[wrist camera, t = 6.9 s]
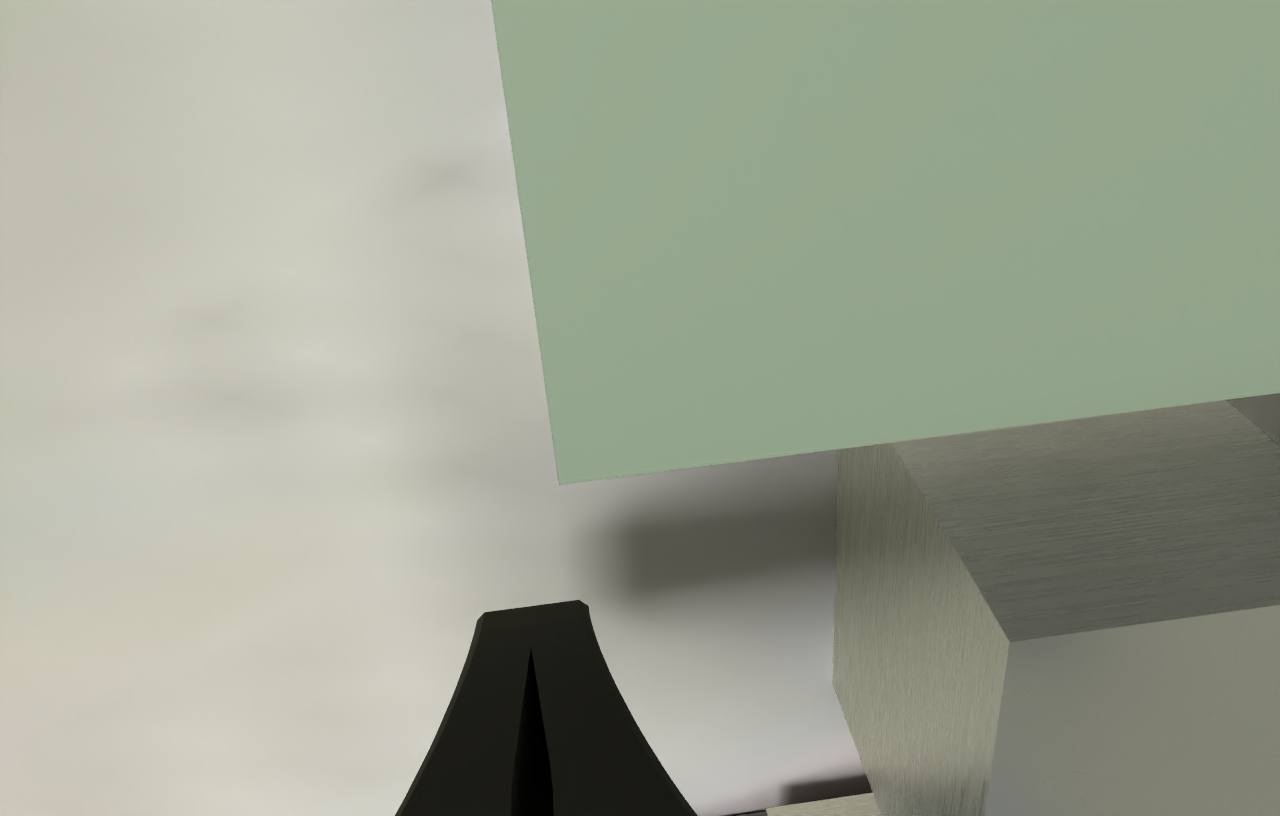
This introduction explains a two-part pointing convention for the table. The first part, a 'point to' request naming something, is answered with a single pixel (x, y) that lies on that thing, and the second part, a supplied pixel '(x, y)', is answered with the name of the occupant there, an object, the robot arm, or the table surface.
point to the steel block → (1065, 617)
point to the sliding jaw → (888, 217)
